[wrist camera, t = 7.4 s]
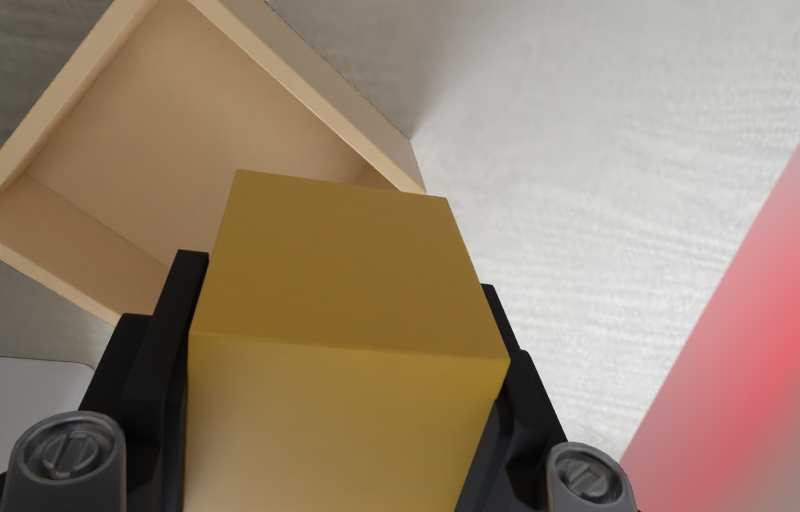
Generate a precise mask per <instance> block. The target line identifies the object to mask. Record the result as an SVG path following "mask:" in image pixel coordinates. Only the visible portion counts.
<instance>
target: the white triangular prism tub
mask: <svg viewBox="0 0 800 512" xmlns="http://www.w3.org/2000/svg"><path fill="white" fill-rule="evenodd" d="M94 373H95V371H94V370H93V369H92V368H91V367H89V366H88V365H85V364H81V363H73V362H60V361H46V360H33V359H19V358H6V357H0V474H1V473H3V472H5V471H7V469H8V464H9V459H10V454H11V452H12V449H13V447H14V445H15V442H16V441H17V440H18V439H19V438H20V436H21V435H22V434H23V433H24V432H25V431H26V430H27V429H29V428H30V427H32V426H33V425H35V424H36V423H38V422H39V421H41V420H43V419H46V418H48V417H51V416H53V415H56V414H60V413H65V412H70V411H77V410H78V408H79V406H80V403H81V401H82V399H83V397H84V395H85V393H86V390H87V388H88V386H89V384H90V382H91V380H92V377H93V375H94Z"/></svg>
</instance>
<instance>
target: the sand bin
mask: <svg viewBox="0 0 800 512" xmlns="http://www.w3.org/2000/svg"><path fill="white" fill-rule="evenodd" d="M237 169H244V170H251V171H258V172H265V173H272V174H279V175H286V176H294V177H301V178H308V179H315V180H322V181H329V182H336V183H344V184H351V185H358V186H365V187H372V188H379V189H387V190H394V191H401V192H408V193H415V194H422V195H425V194H426V193H427V191H426V188H425V185H424V182H423V179H422V176H421V173H420V170H419V167H418V164H417V161H416V158H415V155H414V152H413V149H412V146H411V142H410V141H409V140H408V139H407V138H406V137H405V136H404V135H403V134H402V133H401V132H400V131H399V130H398V129H397V128H395V127H394V126H393V125H392V124H391V123H390V122H389V121H388V120H387V119H386V118H385V117H384V116H383V115H382V114H381V113H380V112H379V111H378V110H377V109H376V108H375V107H373V106H372V105H371V104H370V103H369V102H368V101H367V100H366V99H365V98H364V97H363V96H362V95H361V94H360V93H359V92H358V91H357V90H356V89H355V88H354V87H353V86H351V85H350V84H349V83H348V82H347V81H346V80H345V79H344V78H343V77H342V76H341V75H340V74H339V73H338V72H337V71H336V70H335V69H334V68H333V67H332V66H331V65H329V64H328V63H327V62H326V61H325V60H324V59H323V58H322V57H321V56H320V55H319V54H318V53H317V52H316V51H315V50H314V49H313V48H312V47H311V46H310V45H309V44H307V43H306V42H305V41H304V40H303V39H302V38H301V37H300V36H299V35H298V34H297V33H296V32H295V31H294V30H293V29H292V28H291V27H290V26H289V25H288V24H287V23H285V22H284V21H283V20H282V19H281V18H280V17H279V16H278V15H277V14H276V13H275V12H274V11H273V10H272V9H271V8H270V7H269V6H268V5H267V4H266V3H265V2H263V1H262V0H114V1H113V2H112V3H111V5H110V6H109V7H108V9H107V10H106V11H105V13H104V14H103V15H102V16H101V18H100V19H99V20H98V22H97V23H96V24H95V26H94V27H93V28H92V30H91V31H90V32H89V34H88V35H87V36H86V37H85V39H84V40H83V41H82V43H81V44H80V45H79V47H78V48H77V49H76V51H75V52H74V53H73V55H72V56H71V57H70V58H69V60H68V61H67V62H66V64H65V65H64V66H63V68H62V69H61V70H60V72H59V73H58V74H57V76H56V77H55V78H54V79H53V81H52V82H51V83H50V85H49V86H48V87H47V89H46V90H45V91H44V93H43V94H42V95H41V97H40V98H39V99H38V100H37V102H36V103H35V104H34V106H33V107H32V108H31V110H30V111H29V112H28V114H27V115H26V116H25V118H24V119H23V120H22V121H21V123H20V124H19V125H18V127H17V128H16V129H15V131H14V132H13V133H12V135H11V136H10V137H9V139H8V140H7V141H6V142H5V144H4V145H3V146H2V148H1V149H0V260H2V261H3V262H5V263H7V264H8V265H10V266H12V267H14V268H15V269H17V270H19V271H20V272H22V273H24V274H25V275H27V276H29V277H30V278H32V279H34V280H36V281H37V282H39V283H41V284H42V285H44V286H46V287H47V288H49V289H51V290H52V291H54V292H56V293H58V294H59V295H61V296H63V297H64V298H66V299H68V300H69V301H71V302H73V303H74V304H76V305H78V306H80V307H81V308H83V309H85V310H86V311H88V312H90V313H91V314H93V315H95V316H96V317H98V318H100V319H102V320H103V321H105V322H107V323H108V324H110V325H112V326H113V327H115V328H116V325H117V323H118V321H119V319H120V317H121V316H122V314H124V313H135V314H145V315H153V312H154V310H155V307H156V304H157V302H158V299H159V297H160V294H161V292H162V289H163V286H164V284H165V281H166V279H167V276H168V274H169V271H170V268H171V266H172V263H173V261H174V258H175V256H176V253H177V251H178V249H183V250H191V251H200V252H208V253H209V260H210V259H211V255H212V252H213V248H214V245H215V242H216V238H217V235H218V231H219V228H220V225H221V221H222V218H223V214H224V211H225V208H226V204H227V201H228V197H229V194H230V191H231V187H232V184H233V180H234V177H235V174H236V171H237Z"/></svg>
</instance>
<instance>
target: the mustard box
mask: <svg viewBox="0 0 800 512" xmlns="http://www.w3.org/2000/svg"><path fill="white" fill-rule="evenodd" d="M509 365H510V357H509V355H508V352H507V350H506V347H505V345H504V342H503V340H502V337H501V335H500V332H499V330H498V327H497V325H496V322H495V320H494V317H493V314H492V312H491V309H490V307H489V304H488V302H487V299H486V297H485V294H484V292H483V289H482V287H481V284H480V282H479V279H478V277H477V274H476V272H475V269H474V267H473V264H472V261H471V259H470V256H469V254H468V251H467V249H466V246H465V244H464V241H463V239H462V236H461V234H460V231H459V229H458V226H457V224H456V221H455V219H454V216H453V214H452V211H451V208H450V206H449V203H448V201H447V199H446V198H444V197H437V196H429V195H422V194H415V193H408V192H401V191H394V190H387V189H379V188H372V187H365V186H358V185H351V184H344V183H336V182H329V181H322V180H315V179H308V178H301V177H294V176H286V175H279V174H272V173H265V172H258V171H251V170H244V169H237V171H236V174H235V177H234V180H233V184H232V187H231V191H230V194H229V197H228V201H227V204H226V208H225V211H224V214H223V218H222V221H221V225H220V228H219V231H218V235H217V238H216V242H215V245H214V248H213V252H212V255H211V259H210V262H209V265H208V269H207V272H206V276H205V279H204V282H203V286H202V289H201V293H200V296H199V299H198V303H197V306H196V310H195V313H194V316H193V320H192V323H191V327H190V330H189V338H188V361H187V375H188V378H187V402H186V425H185V448H184V471H183V494H182V512H454V509H455V507H456V504H457V501H458V498H459V496H460V493H461V490H462V487H463V485H464V482H465V479H466V477H467V474H468V471H469V468H470V466H471V463H472V460H473V457H474V455H475V452H476V449H477V447H478V444H479V441H480V438H481V436H482V433H483V430H484V427H485V425H486V422H487V419H488V416H489V414H490V411H491V408H492V406H493V403H494V400H495V399H497V397H498V395H499V392H500V389H501V387H502V384H503V381H504V378H505V376H506V373H507V370H508V368H509Z"/></svg>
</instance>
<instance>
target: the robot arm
mask: <svg viewBox="0 0 800 512" xmlns="http://www.w3.org/2000/svg"><path fill="white" fill-rule="evenodd" d="M209 262H210V260H209V253H208V252H200V251H191V250H183V249H178V251H177V253H176V256H175V258H174V261H173V263H172V266H171V268H170V271H169V274H168V276H167V279H166V281H165V284H164V286H163V289H162V292H161V294H160V297H159V299H158V302H157V304H156V307H155V310H154V312H153V315H145V314H135V313H124V314H122V316H121V317H120V319H119V321H118V323H117V325H116V328H115V330H114V332H113V334H112V336H111V338H110V341H109V343H108V345H107V347H106V349H105V351H104V354H103V356H102V358H101V360H100V362H99V364H98V367H97V369H96V371H95V373H94V375H93V377H92V380H91V382H90V384H89V386H88V388H87V390H86V393H85V395H84V397H83V399H82V401H81V403H80V406H79V408H78V410H77V411H70V412H65V413H60V414H56V415H53V416H51V417H48V418H46V419H43V420H41V421H39V422H38V423H36V424H35V425H33V426H32V427H30V428H29V429H27V430H26V431H25V432H24V433H23V434H22V435H21V436H20V438H19V439H18V440H17V441H16V442H15V445H14V447H13V449H12V452H11V454H10V459H9V464H8V469H7V471H5V472H3V473H1V474H0V512H182V494H183V471H184V448H185V425H186V402H187V378H188V375H187V361H188V338H189V330H190V327H191V323H192V320H193V316H194V313H195V310H196V306H197V303H198V299H199V296H200V293H201V289H202V286H203V282H204V279H205V276H206V272H207V269H208V265H209ZM480 284H481V287H482V289H483V292H484V294H485V297H486V299H487V302H488V304H489V307H490V309H491V312H492V314H493V317H494V320H495V322H496V325H497V327H498V330H499V332H500V335H501V337H502V340H503V342H504V345H505V347H506V350H507V352H508V355H509V357H510V365H509V368H508V370H507V373H506V376H505V378H504V381H503V384H502V387H501V389H500V392H499V395H498V397H497V399H495V400H494V403H493V406H492V408H491V411H490V414H489V416H488V419H487V422H486V425H485V427H484V430H483V433H482V436H481V438H480V441H479V444H478V447H477V449H476V452H475V455H474V457H473V460H472V463H471V466H470V468H469V471H468V474H467V477H466V479H465V482H464V485H463V487H462V490H461V493H460V496H459V498H458V501H457V504H456V507H455V509H454V512H640V511H639V510H638V509H637V507H636V503H635V498H634V494H633V490H632V486H631V484H630V481H629V479H628V477H627V474H626V473H625V472H624V471H623V469H622V468H621V467H620V465H619V464H618V463H617V462H616V461H614V460H613V459H612V458H611V457H610V456H609V455H607V454H605V453H604V452H602V451H600V450H599V449H597V448H595V447H592V446H589V445H586V444H584V443H577V442H568V440H567V438H566V436H565V433H564V431H563V429H562V427H561V424H560V422H559V420H558V418H557V415H556V413H555V411H554V408H553V406H552V404H551V402H550V399H549V397H548V395H547V393H546V390H545V388H544V386H543V384H542V381H541V379H540V377H539V374H538V372H537V370H536V368H535V365H534V363H533V361H532V359H531V357H530V355H529V353H528V352H527V351H525V350H521V349H520V347H519V345H518V342H517V340H516V338H515V335H514V333H513V331H512V328H511V326H510V324H509V321H508V319H507V316H506V314H505V312H504V309H503V307H502V305H501V302H500V300H499V298H498V295H497V293H496V291H495V288H494V287H493V285H490V284H482V283H480Z"/></svg>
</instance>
